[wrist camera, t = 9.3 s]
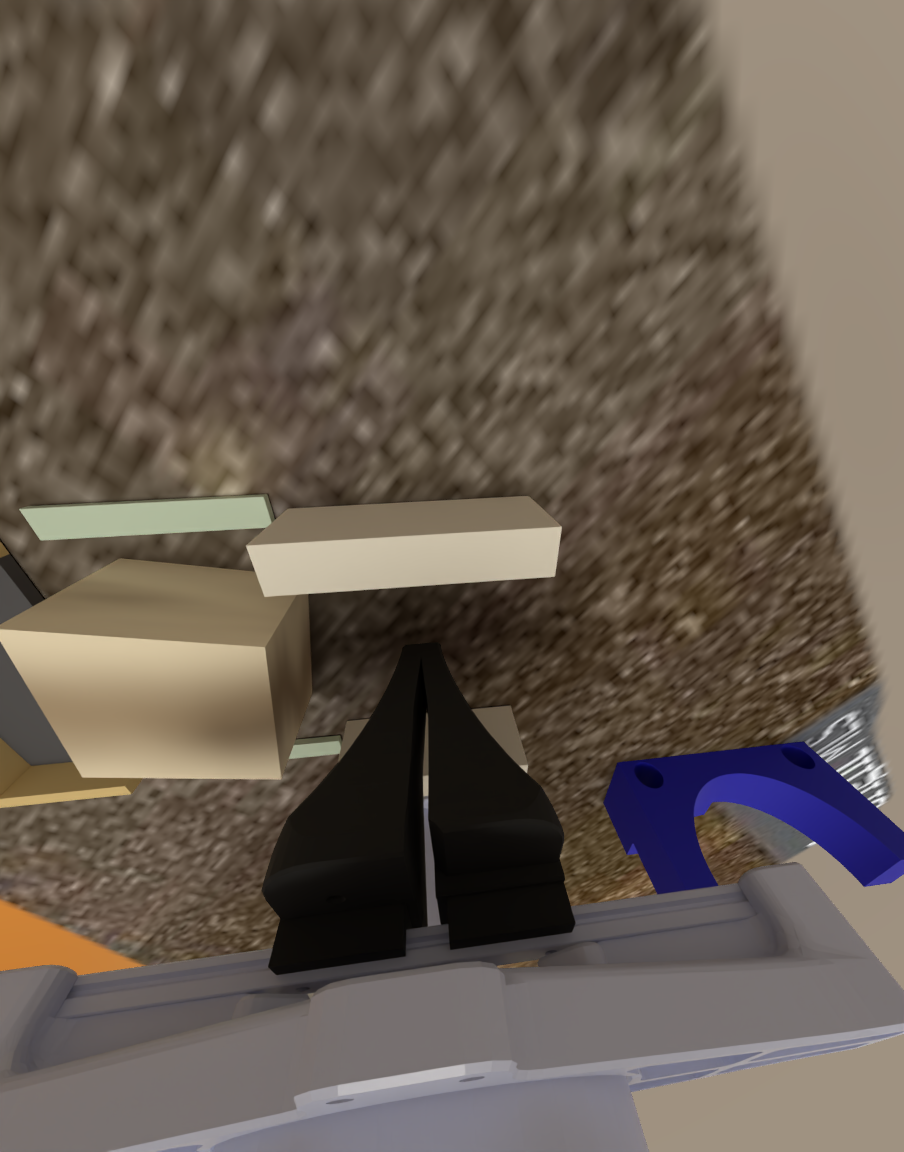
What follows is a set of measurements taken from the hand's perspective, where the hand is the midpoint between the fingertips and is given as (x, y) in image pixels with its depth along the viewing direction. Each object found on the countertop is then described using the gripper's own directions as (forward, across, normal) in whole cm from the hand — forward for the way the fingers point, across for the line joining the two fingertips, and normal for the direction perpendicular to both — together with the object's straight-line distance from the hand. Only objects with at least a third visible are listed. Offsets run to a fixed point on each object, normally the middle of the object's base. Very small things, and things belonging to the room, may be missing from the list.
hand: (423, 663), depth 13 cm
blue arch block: (+2, -17, +13) cm, 21 cm away
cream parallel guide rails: (+1, 0, 0) cm, 1 cm away
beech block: (+2, +8, -1) cm, 8 cm away
